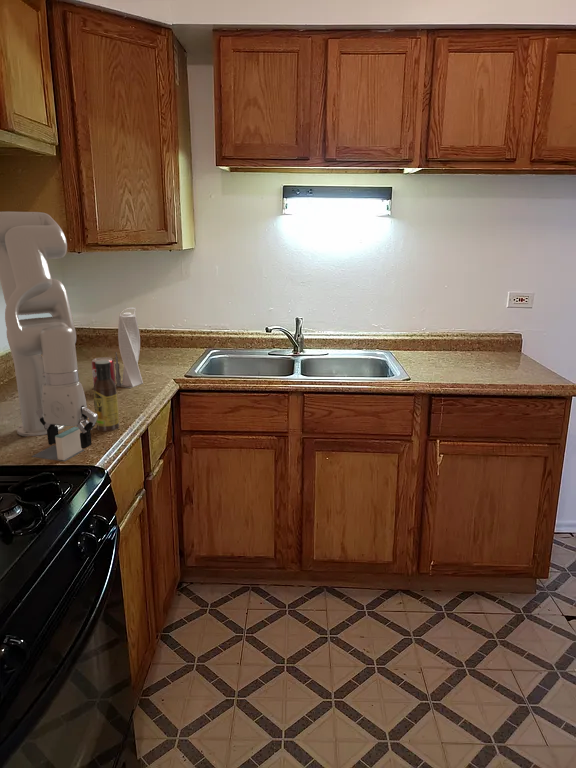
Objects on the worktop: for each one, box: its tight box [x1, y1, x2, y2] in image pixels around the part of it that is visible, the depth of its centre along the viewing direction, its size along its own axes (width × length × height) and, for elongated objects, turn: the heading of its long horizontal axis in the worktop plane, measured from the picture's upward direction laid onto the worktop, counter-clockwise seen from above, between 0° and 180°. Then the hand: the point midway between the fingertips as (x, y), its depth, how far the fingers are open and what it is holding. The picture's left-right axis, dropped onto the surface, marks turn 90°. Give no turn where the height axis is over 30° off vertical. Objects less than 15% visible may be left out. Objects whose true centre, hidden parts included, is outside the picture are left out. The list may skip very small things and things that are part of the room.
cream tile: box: [55, 426, 82, 460], centre depth 144 cm, size 7×2×6 cm, turn 162°
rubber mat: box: [31, 444, 85, 462], centre depth 146 cm, size 8×10×1 cm
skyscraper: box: [114, 307, 144, 389], centre depth 207 cm, size 8×8×28 cm
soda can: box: [91, 357, 117, 385], centre depth 198 cm, size 7×7×12 cm
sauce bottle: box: [92, 360, 120, 432], centre depth 161 cm, size 6×6×20 cm
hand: (70, 445), depth 143 cm, fingers open, 9 cm apart
